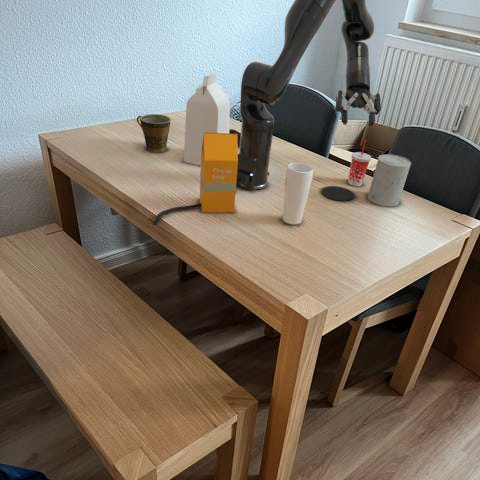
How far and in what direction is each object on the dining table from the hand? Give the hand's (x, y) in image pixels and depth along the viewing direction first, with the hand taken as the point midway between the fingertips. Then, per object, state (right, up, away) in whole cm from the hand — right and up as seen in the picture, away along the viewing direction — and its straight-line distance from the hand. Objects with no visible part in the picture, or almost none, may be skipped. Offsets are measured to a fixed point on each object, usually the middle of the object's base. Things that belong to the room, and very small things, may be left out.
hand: (358, 124), depth 152 cm
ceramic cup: (-68, -4, +11) cm, 69 cm away
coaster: (-8, -24, -6) cm, 26 cm away
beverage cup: (-1, -18, +2) cm, 18 cm away
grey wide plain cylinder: (+6, -26, -6) cm, 27 cm away
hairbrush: (-37, +3, +23) cm, 44 cm away
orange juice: (-45, -31, -19) cm, 58 cm away
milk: (-49, -9, +7) cm, 50 cm away
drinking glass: (-24, -36, -22) cm, 48 cm away
